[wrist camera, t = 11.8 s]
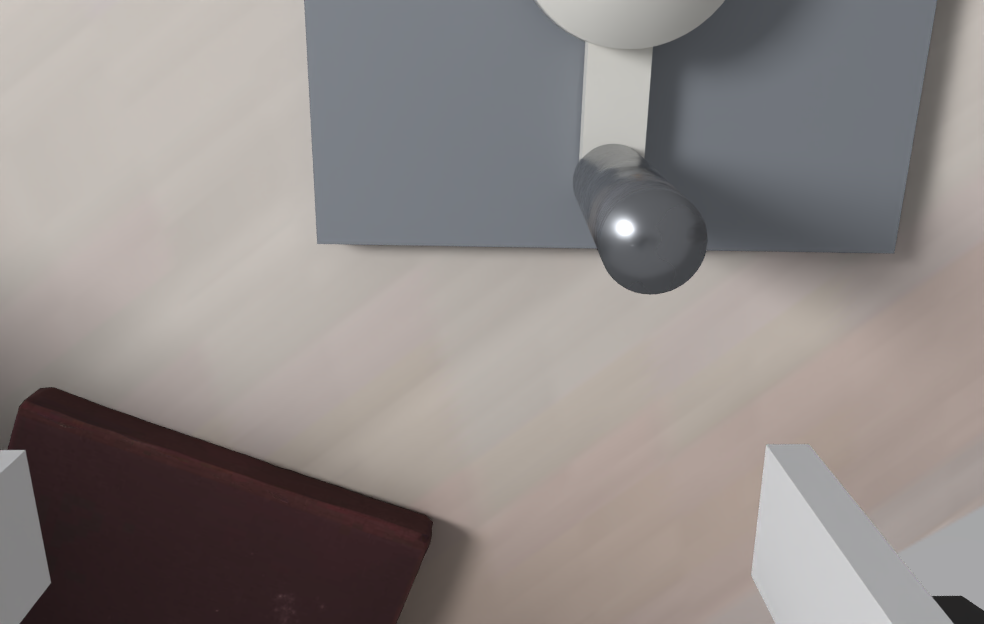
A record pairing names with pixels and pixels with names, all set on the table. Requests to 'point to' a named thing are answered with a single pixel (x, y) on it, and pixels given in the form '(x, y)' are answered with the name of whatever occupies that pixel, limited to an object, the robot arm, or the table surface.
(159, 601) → the book
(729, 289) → the table surface
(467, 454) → the table surface
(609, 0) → the white grey handled piece
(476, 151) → the dial base plate
